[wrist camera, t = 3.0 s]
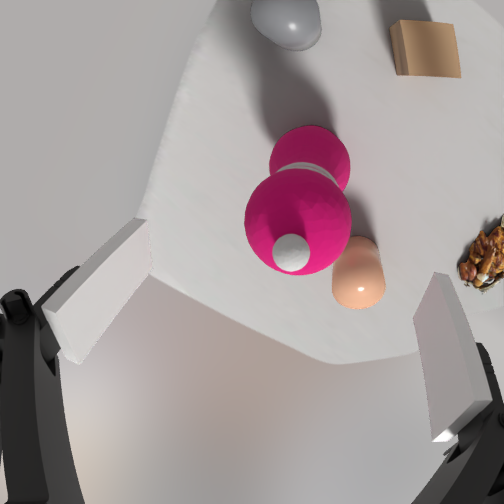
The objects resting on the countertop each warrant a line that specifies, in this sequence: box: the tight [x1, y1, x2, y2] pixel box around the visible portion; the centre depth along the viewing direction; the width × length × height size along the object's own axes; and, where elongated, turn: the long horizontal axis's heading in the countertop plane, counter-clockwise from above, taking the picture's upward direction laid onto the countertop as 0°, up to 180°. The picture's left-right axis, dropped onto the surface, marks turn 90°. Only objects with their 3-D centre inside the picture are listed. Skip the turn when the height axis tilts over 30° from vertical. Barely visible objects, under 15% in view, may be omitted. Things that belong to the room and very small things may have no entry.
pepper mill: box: [244, 125, 352, 275], centre depth 22 cm, size 7×7×20 cm
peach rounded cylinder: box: [332, 236, 386, 309], centre depth 33 cm, size 6×6×6 cm
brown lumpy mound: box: [458, 214, 504, 294], centre depth 29 cm, size 7×12×4 cm, turn 162°
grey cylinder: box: [251, 0, 322, 51], centre depth 21 cm, size 5×5×8 cm
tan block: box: [389, 20, 461, 78], centre depth 20 cm, size 5×5×5 cm
